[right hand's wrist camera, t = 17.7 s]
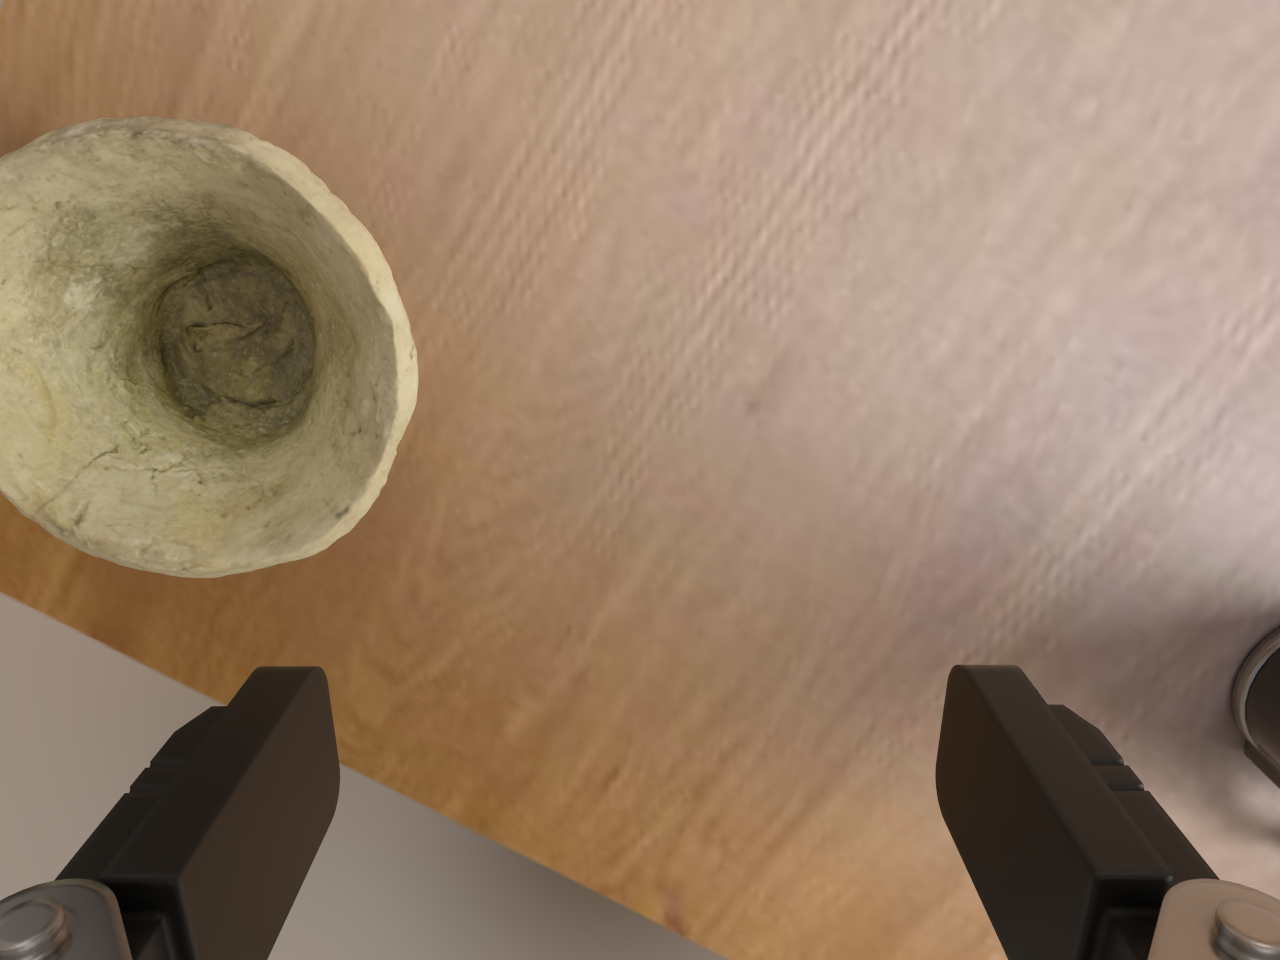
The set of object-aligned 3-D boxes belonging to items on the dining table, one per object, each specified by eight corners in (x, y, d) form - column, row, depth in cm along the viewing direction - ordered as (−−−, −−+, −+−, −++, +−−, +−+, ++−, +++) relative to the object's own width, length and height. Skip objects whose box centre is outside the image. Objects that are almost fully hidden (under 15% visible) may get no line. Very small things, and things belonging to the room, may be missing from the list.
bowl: (179, 409, 46) (-143, 242, 34) (456, 230, 42) (195, -32, 30) (178, 650, 39) (-230, 543, 27) (513, 466, 35) (199, 242, 23)
